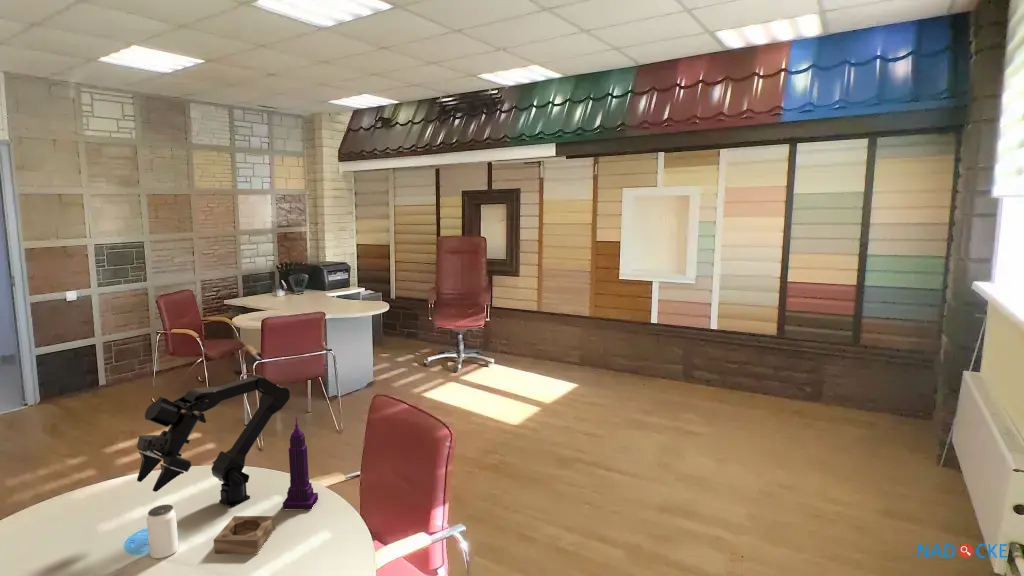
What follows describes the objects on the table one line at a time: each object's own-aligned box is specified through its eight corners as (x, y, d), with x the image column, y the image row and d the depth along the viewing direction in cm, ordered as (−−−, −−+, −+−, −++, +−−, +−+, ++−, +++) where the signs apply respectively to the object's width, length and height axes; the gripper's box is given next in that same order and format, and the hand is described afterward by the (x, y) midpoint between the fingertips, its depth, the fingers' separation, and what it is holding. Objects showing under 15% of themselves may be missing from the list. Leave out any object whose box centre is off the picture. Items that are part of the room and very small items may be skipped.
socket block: (235, 528, 161) (234, 515, 161) (275, 529, 161) (274, 516, 161) (214, 553, 150) (213, 539, 149) (257, 553, 150) (256, 540, 149)
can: (165, 561, 147) (161, 518, 145) (144, 557, 148) (139, 515, 146) (184, 546, 153) (180, 505, 151) (163, 543, 154) (160, 502, 152)
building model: (318, 499, 177) (314, 407, 173) (311, 510, 171) (306, 415, 166) (291, 498, 178) (285, 407, 173) (282, 510, 171) (277, 415, 167)
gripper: (137, 414, 160) (103, 469, 154) (169, 430, 149) (134, 489, 144) (172, 427, 168) (141, 479, 162) (205, 443, 158) (173, 499, 152)
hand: (146, 486), depth 155 cm, fingers open, 9 cm apart
